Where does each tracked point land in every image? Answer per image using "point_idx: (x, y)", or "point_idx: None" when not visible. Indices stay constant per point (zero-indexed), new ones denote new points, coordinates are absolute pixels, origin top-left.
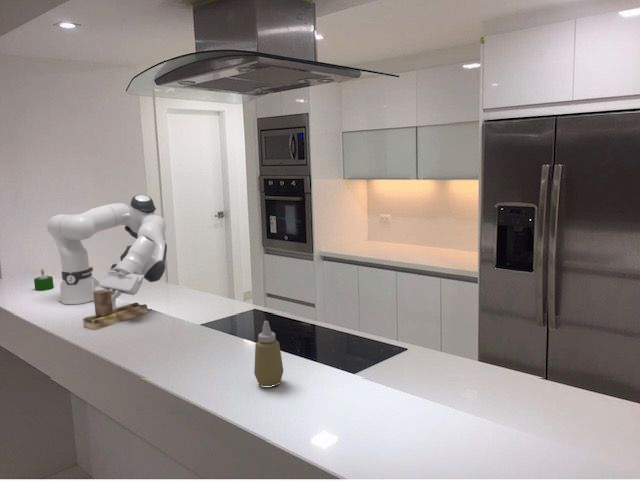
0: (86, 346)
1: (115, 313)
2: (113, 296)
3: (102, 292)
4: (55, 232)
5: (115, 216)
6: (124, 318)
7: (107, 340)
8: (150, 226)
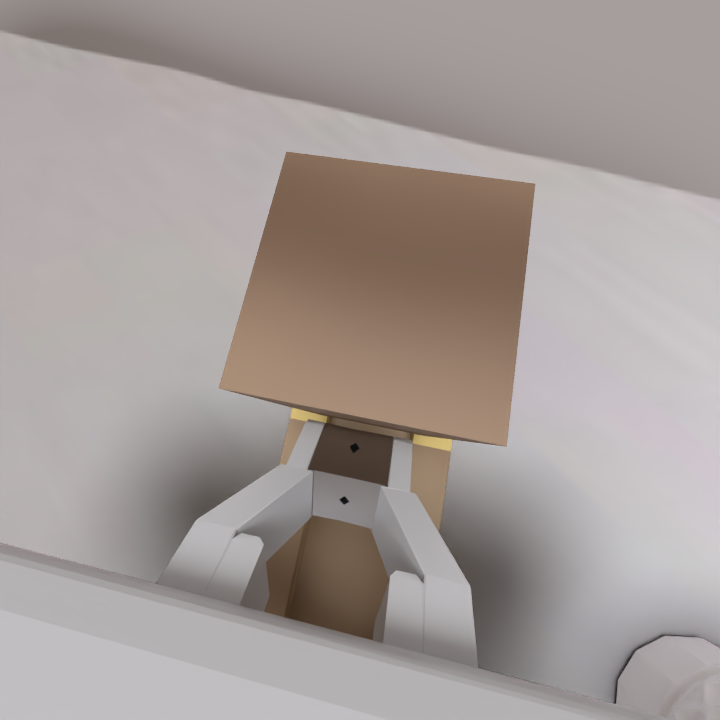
0: (193, 81)
1: None
2: (286, 469)
3: (295, 218)
4: None
5: None
6: None
7: (144, 166)
8: None
